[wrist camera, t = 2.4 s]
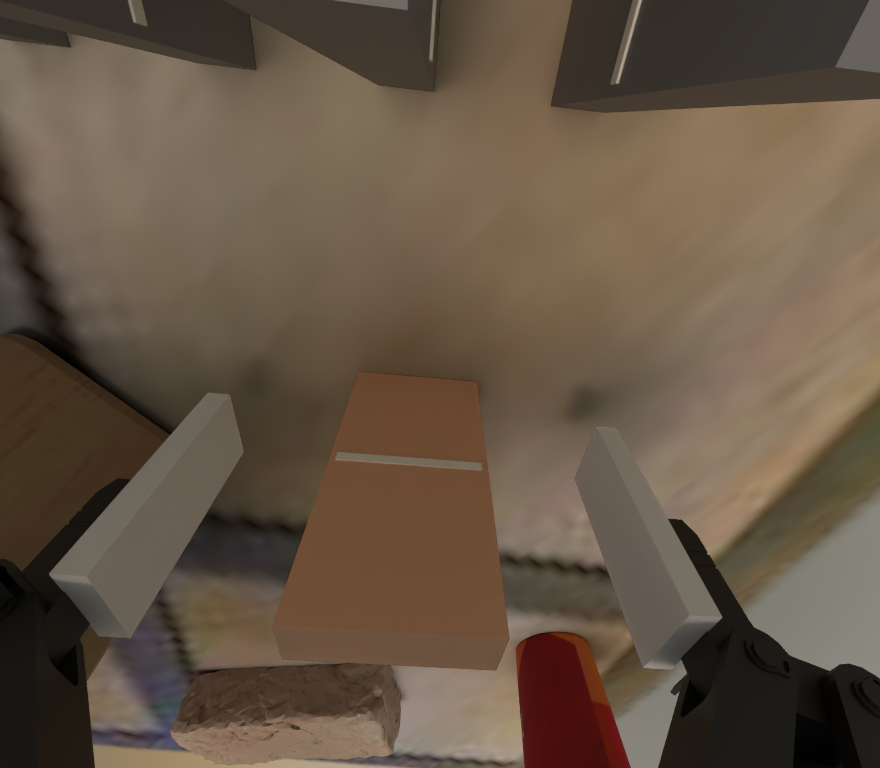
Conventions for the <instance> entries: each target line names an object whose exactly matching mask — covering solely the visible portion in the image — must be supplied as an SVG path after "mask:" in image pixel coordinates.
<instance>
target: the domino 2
mask: <svg viewBox="0 0 880 768" xmlns="http://www.w3.org/2000/svg"><path fill="white" fill-rule="evenodd" d="M0 17H4V18H8V19H13V20H17V21H21V22H25V23H30V24H34V25H38V26H42V27H47V28H51V29H55V30H59V31H64V32H68V33H72V34H76V35H81V36H85V37H89V38H93V39H97V40H102V41H106V42H110V43H114V44H119V45H123V46H127V47H131V48H136V49H140V50H144V51H148V52H153V53H157V54H161V55H165V56H170V57H174V58H178V59H182V60H187V61H191V62H195V63H201V64H209V65H218V66H226V67H234V68H242V69H250V70H256V65H255V58H254V50H253V42H252V34H251V26H250V18H249V14H247V13H246V12H244V11H242V10H240V9H238V8H236V7H235V6H233V5H231V4H229V3H227V2H225V1H224V0H0Z"/></svg>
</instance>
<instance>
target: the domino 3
mask: <svg viewBox="0 0 880 768" xmlns="http://www.w3.org/2000/svg"><path fill="white" fill-rule="evenodd" d="M224 1H225V2H227V3H229V4H231V5H233V6H235V7H236V8H238V9H240V10H242V11H244V12H246V13H247V14H249V15H251V16H253V17H255V18H256V19H258V20H260V21H262V22H264V23H266V24H267V25H269V26H271V27H273V28H275V29H277V30H278V31H280V32H282V33H284V34H286V35H288V36H289V37H291V38H293V39H295V40H297V41H298V42H300V43H302V44H304V45H306V46H308V47H309V48H311V49H313V50H315V51H317V52H319V53H320V54H322V55H324V56H326V57H328V58H330V59H331V60H333V61H335V62H337V63H339V64H340V65H342V66H344V67H346V68H348V69H350V70H351V71H353V72H355V73H357V74H359V75H361V76H362V77H364V78H366V79H368V80H370V81H371V82H373V83H375V84H377V85H382V86H390V87H398V88H406V89H415V90H423V91H431V92H434V86H435V72H436V58H437V45H438V31H439V17H440V3H441V0H224Z"/></svg>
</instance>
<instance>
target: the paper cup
mask: <svg viewBox="0 0 880 768" xmlns="http://www.w3.org/2000/svg"><path fill="white" fill-rule="evenodd" d="M516 661H517V677H518V690H519V703H520V716H521V728H522V740H523V752H524V764H525V768H631V767H630V764H629V761H628V758H627V755H626V753H625V749H624V746H623V744H622V740H621V738H620V734H619V732H618V728H617V725H616V722H615V719H614V716H613V713H612V710H611V707H610V704H609V701H608V698H607V696H606V693H605V690H604V687H603V684H602V681H601V678H600V675H599V672H598V669H597V666H596V663H595V661H594V658H593V655H592V652H591V650H590V647H589V645H588V643H587V641H586V640H585V639H584V638H582V637H580V636H578V635H575V634H571V633H564V632H550V633H543V634H538V635H535V636H532V637H529V638H527V639H525V640H524V641H522V642H521V643H520V644H519V645H518V647H517V649H516Z"/></svg>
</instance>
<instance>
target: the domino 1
mask: <svg viewBox="0 0 880 768" xmlns="http://www.w3.org/2000/svg"><path fill="white" fill-rule="evenodd" d="M0 39H6V40H12V41H21V42H29V43H37V44H45V45H53V46H62V47H70V45H69V42H68V39H67V36H66V33H65V32H64V31H59V30H55V29H51V28H47V27H42V26H38V25H34V24H30V23H25V22H21V21H17V20H13V19H8V18H4V17H0Z"/></svg>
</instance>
